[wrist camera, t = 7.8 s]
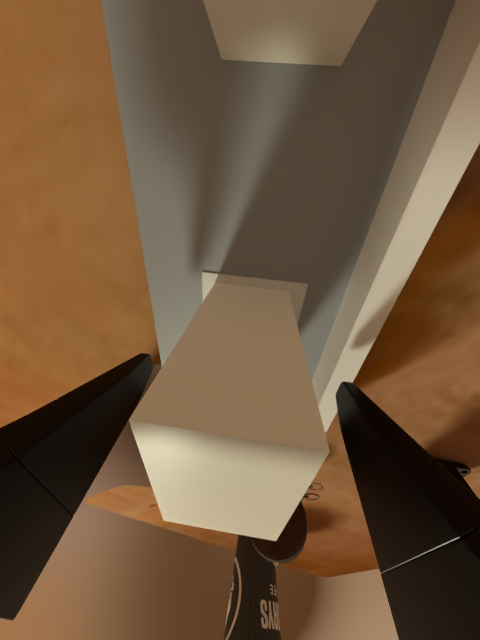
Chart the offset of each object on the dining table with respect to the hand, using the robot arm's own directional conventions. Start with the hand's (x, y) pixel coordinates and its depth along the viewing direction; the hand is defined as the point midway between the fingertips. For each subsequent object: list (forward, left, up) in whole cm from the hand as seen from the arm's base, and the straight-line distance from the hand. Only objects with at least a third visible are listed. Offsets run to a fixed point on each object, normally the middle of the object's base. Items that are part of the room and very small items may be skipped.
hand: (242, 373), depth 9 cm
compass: (-24, -7, -5) cm, 25 cm away
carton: (0, 0, -3) cm, 3 cm away
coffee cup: (-47, -6, -5) cm, 48 cm away
